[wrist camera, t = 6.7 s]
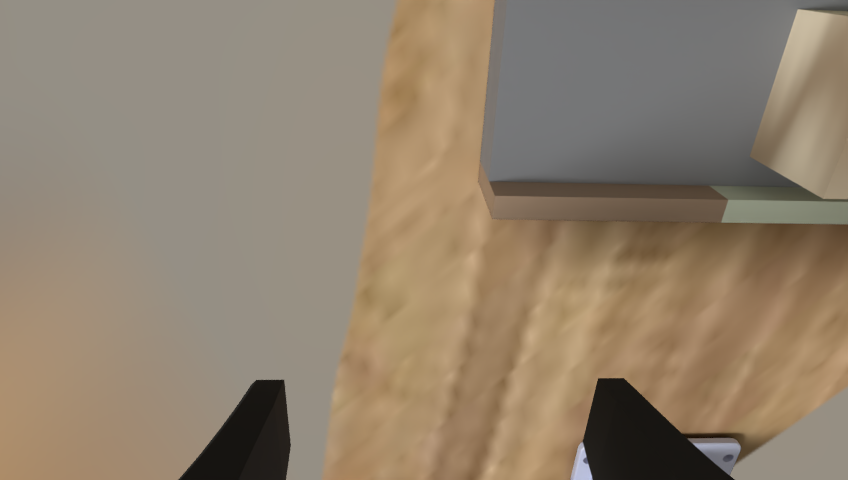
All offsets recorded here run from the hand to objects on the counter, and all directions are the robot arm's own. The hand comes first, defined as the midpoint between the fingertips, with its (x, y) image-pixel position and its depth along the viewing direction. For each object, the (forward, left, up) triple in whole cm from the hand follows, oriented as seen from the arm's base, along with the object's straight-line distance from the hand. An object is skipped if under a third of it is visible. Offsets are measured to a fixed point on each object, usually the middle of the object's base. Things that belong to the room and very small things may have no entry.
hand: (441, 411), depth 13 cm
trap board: (+6, -12, -9) cm, 16 cm away
